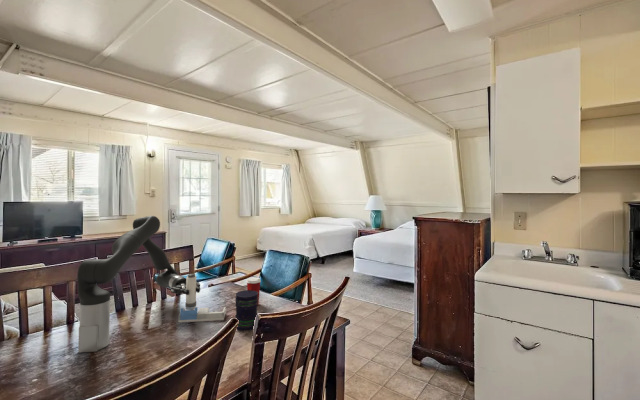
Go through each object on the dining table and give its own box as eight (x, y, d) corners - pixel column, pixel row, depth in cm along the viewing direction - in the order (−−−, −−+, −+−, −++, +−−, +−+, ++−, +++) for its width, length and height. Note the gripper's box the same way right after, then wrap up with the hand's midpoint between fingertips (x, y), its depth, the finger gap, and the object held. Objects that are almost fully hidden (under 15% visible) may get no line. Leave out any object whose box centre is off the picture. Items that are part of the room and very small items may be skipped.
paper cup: (262, 302, 165) (262, 277, 165) (257, 307, 158) (258, 281, 158) (248, 302, 166) (249, 276, 166) (243, 306, 158) (244, 280, 158)
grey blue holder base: (223, 319, 141) (223, 306, 141) (178, 322, 137) (178, 309, 137) (225, 313, 149) (225, 301, 149) (183, 315, 145) (183, 303, 145)
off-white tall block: (195, 309, 140) (195, 275, 140) (184, 310, 139) (184, 276, 139) (197, 305, 145) (197, 273, 145) (186, 306, 144) (187, 273, 144)
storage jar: (251, 332, 128) (252, 297, 128) (230, 330, 130) (231, 295, 130) (260, 323, 138) (261, 291, 138) (241, 321, 140) (241, 289, 140)
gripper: (164, 279, 147) (178, 286, 135) (193, 274, 157) (208, 280, 145) (164, 294, 147) (178, 303, 135) (193, 288, 157) (208, 296, 145)
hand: (193, 291), depth 140 cm, fingers closed on off-white tall block, 4 cm apart
